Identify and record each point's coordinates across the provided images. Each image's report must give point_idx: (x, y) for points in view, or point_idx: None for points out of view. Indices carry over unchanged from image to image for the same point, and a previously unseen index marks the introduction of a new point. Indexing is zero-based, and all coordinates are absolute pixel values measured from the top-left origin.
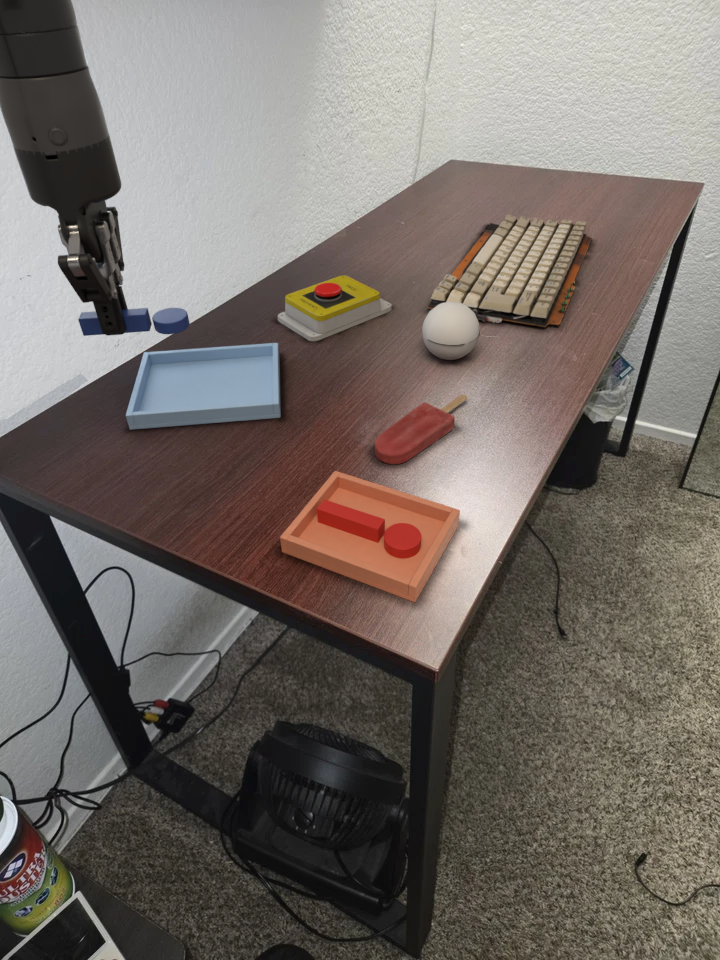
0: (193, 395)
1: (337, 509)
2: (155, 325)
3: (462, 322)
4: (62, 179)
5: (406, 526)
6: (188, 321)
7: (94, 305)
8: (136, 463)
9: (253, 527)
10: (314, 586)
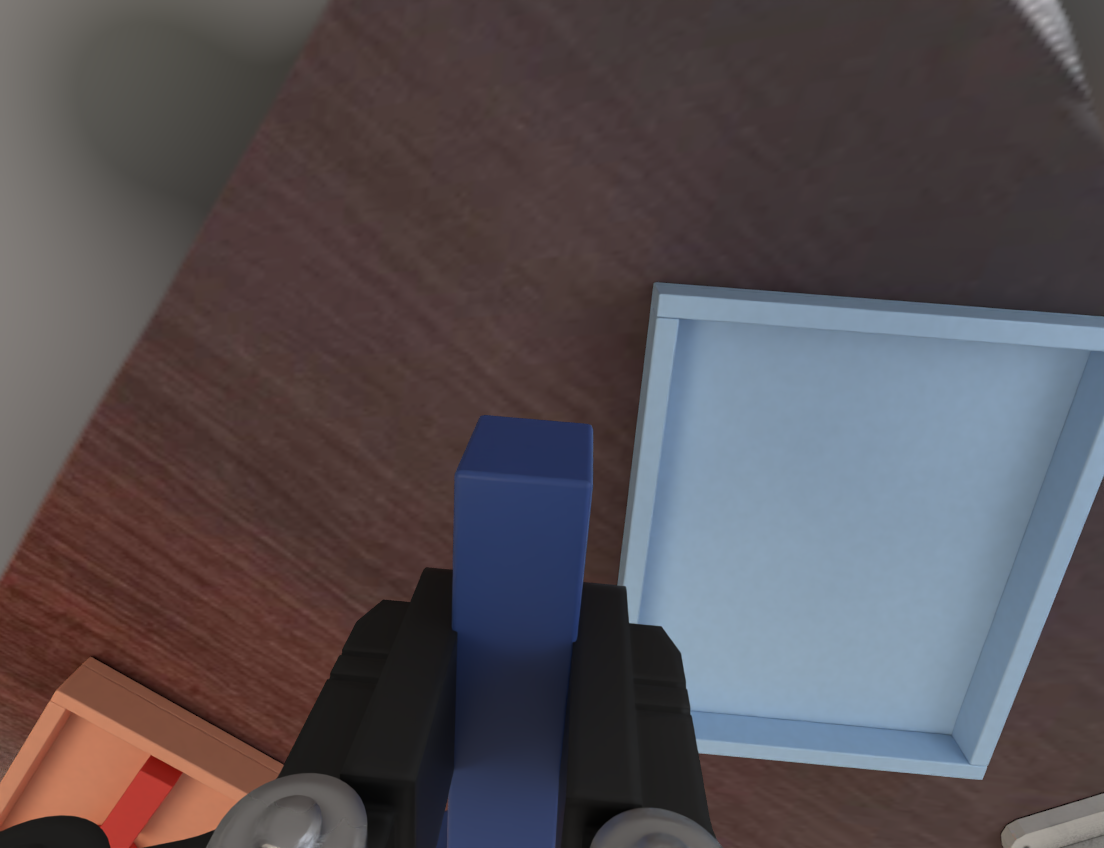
0: (788, 496)
1: (137, 805)
2: (441, 846)
3: None
4: None
5: None
6: None
7: (364, 728)
8: (456, 318)
9: (167, 609)
10: (3, 697)
